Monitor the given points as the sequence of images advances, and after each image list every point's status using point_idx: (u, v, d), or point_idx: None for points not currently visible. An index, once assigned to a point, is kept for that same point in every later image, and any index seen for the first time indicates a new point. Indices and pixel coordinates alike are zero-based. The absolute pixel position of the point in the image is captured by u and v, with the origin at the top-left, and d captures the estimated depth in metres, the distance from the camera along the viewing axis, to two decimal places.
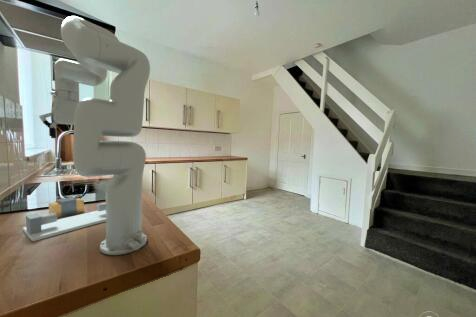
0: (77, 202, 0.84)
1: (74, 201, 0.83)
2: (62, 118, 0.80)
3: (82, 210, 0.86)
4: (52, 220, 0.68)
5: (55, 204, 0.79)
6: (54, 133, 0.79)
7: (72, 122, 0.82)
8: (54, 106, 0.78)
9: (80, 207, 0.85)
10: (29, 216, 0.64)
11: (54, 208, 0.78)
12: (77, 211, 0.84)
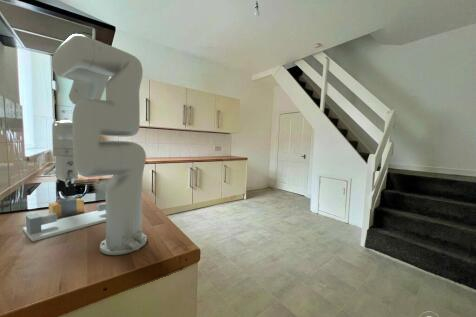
0: (77, 202, 0.84)
1: (74, 201, 0.83)
2: None
3: (82, 210, 0.86)
4: (52, 220, 0.68)
5: (55, 204, 0.79)
6: None
7: None
8: None
9: (80, 207, 0.85)
10: (29, 216, 0.64)
11: (54, 208, 0.78)
12: (77, 211, 0.84)
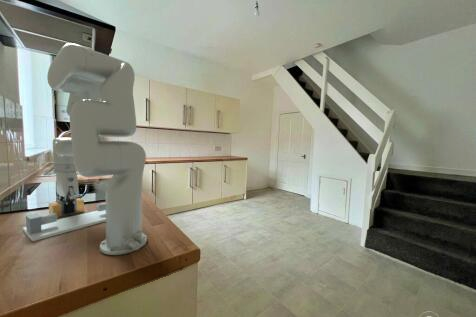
0: (77, 202, 0.84)
1: None
2: None
3: (82, 210, 0.86)
4: (52, 220, 0.68)
5: (55, 204, 0.79)
6: None
7: None
8: (76, 180, 0.81)
9: (80, 207, 0.85)
10: (29, 216, 0.64)
11: (54, 208, 0.78)
12: (77, 211, 0.84)
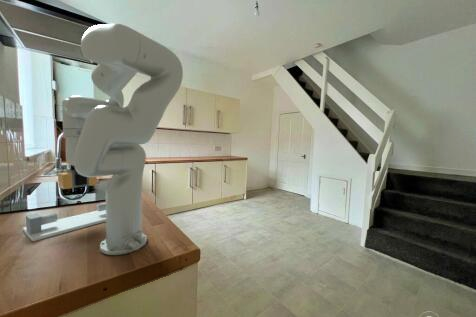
0: None
1: None
2: None
3: (95, 183, 0.76)
4: (52, 220, 0.68)
5: (65, 173, 0.70)
6: None
7: None
8: None
9: (92, 179, 0.76)
10: (29, 216, 0.64)
11: (64, 177, 0.69)
12: (89, 183, 0.75)
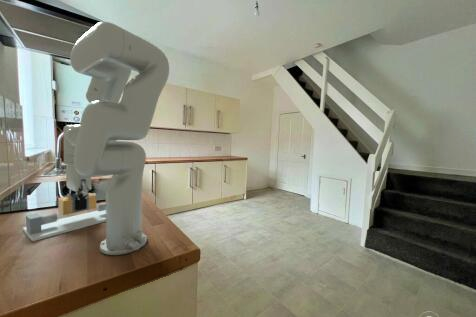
0: (89, 197, 0.75)
1: None
2: None
3: (94, 206, 0.77)
4: (52, 220, 0.68)
5: (65, 199, 0.71)
6: None
7: None
8: None
9: (92, 203, 0.76)
10: (29, 216, 0.64)
11: (65, 203, 0.69)
12: (89, 207, 0.76)
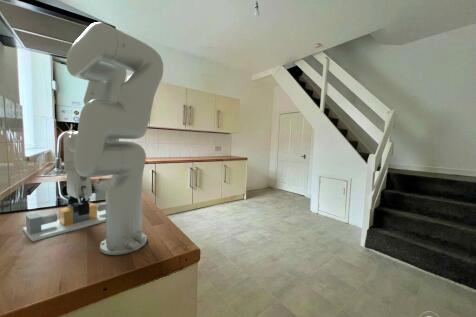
0: (90, 207, 0.76)
1: None
2: None
3: (95, 216, 0.77)
4: (52, 220, 0.68)
5: (66, 210, 0.71)
6: None
7: None
8: (89, 179, 0.73)
9: (93, 213, 0.77)
10: (29, 216, 0.64)
11: (65, 214, 0.70)
12: (90, 217, 0.76)
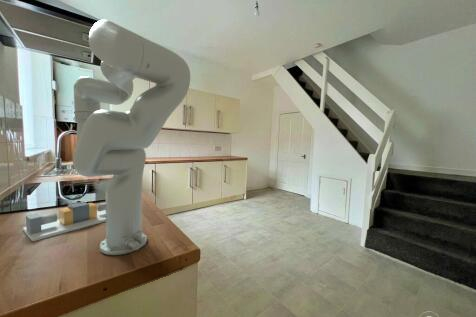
0: (90, 207, 0.76)
1: (87, 206, 0.75)
2: None
3: (95, 216, 0.77)
4: (52, 220, 0.68)
5: (66, 210, 0.71)
6: None
7: None
8: None
9: (93, 213, 0.77)
10: (29, 216, 0.64)
11: (65, 214, 0.70)
12: (90, 217, 0.76)
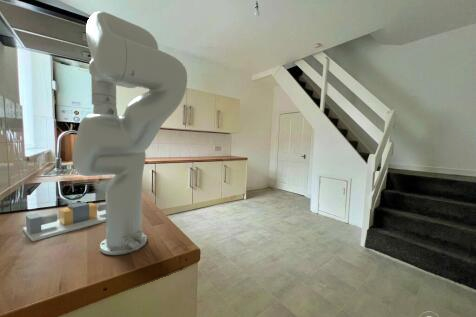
0: (90, 207, 0.76)
1: (87, 206, 0.75)
2: None
3: (95, 216, 0.77)
4: (52, 220, 0.68)
5: (66, 210, 0.71)
6: None
7: None
8: (116, 114, 0.73)
9: (93, 213, 0.77)
10: (29, 216, 0.64)
11: (65, 214, 0.70)
12: (90, 217, 0.76)
